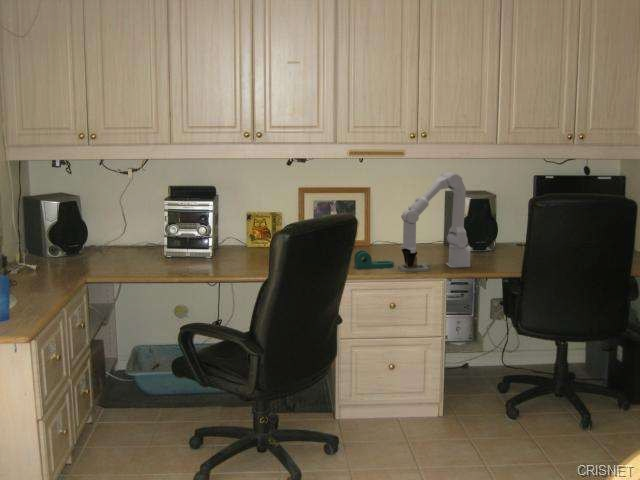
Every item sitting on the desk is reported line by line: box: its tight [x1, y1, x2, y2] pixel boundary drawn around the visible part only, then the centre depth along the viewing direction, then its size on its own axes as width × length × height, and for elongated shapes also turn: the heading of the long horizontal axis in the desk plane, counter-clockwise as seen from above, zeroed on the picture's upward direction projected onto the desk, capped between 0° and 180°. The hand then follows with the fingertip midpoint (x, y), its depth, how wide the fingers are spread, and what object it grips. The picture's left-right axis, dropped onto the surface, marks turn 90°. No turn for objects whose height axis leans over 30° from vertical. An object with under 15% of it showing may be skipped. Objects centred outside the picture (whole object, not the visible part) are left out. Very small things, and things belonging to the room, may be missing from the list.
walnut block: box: [405, 256, 418, 268], centre depth 317 cm, size 4×4×6 cm
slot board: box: [398, 263, 430, 273], centre depth 318 cm, size 12×9×1 cm
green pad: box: [417, 262, 431, 267], centre depth 327 cm, size 6×6×1 cm
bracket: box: [353, 249, 395, 270], centre depth 322 cm, size 18×7×8 cm, turn 98°
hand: (408, 265), depth 318 cm, fingers closed on walnut block, 4 cm apart
